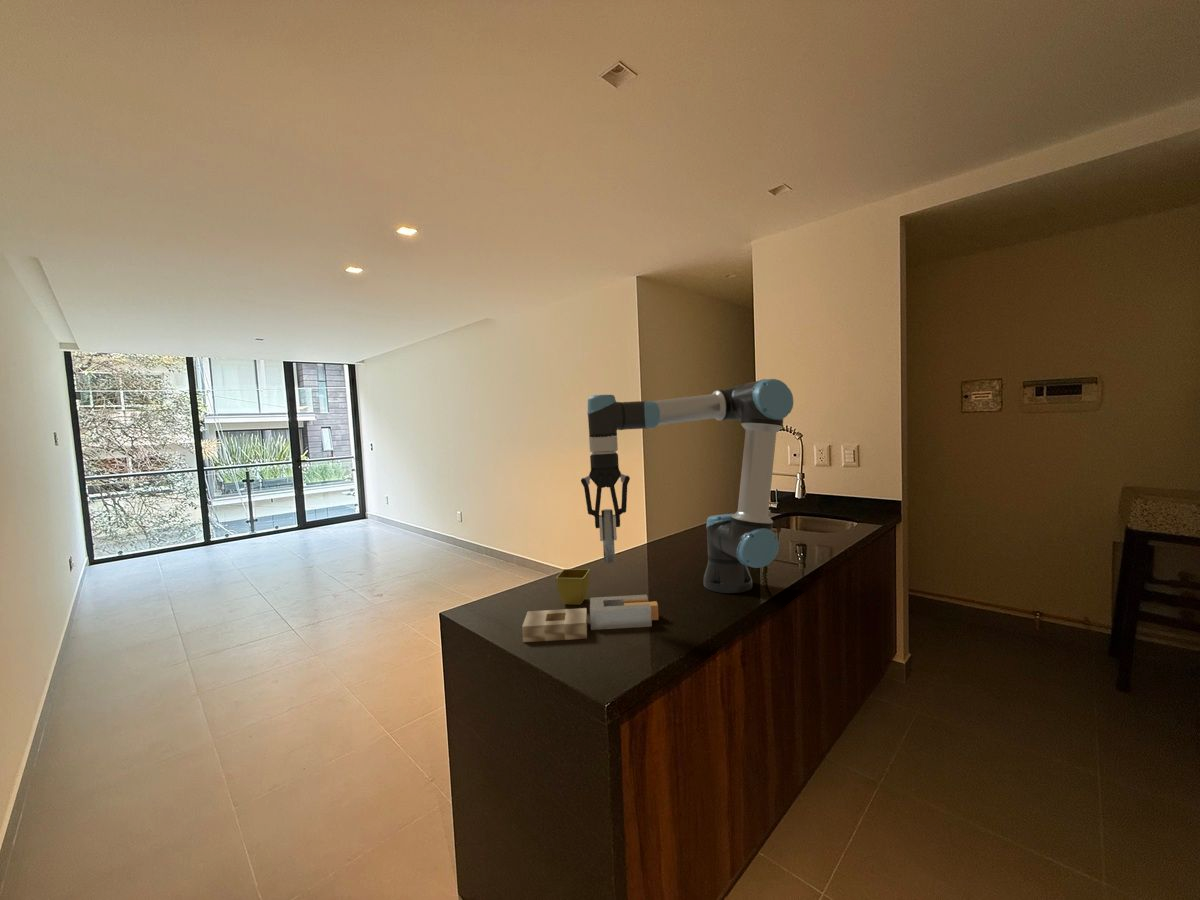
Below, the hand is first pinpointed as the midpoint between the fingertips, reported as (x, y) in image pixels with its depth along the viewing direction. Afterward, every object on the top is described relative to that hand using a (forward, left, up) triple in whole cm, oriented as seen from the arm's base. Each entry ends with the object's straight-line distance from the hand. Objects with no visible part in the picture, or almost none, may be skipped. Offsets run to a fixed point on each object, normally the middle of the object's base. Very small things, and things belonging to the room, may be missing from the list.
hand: (608, 539), depth 129 cm
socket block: (-2, 0, -23) cm, 23 cm away
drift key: (-8, 0, -22) cm, 24 cm away
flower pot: (+11, -16, -23) cm, 30 cm away
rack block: (+15, +5, -23) cm, 27 cm away
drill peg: (0, 0, -6) cm, 6 cm away
